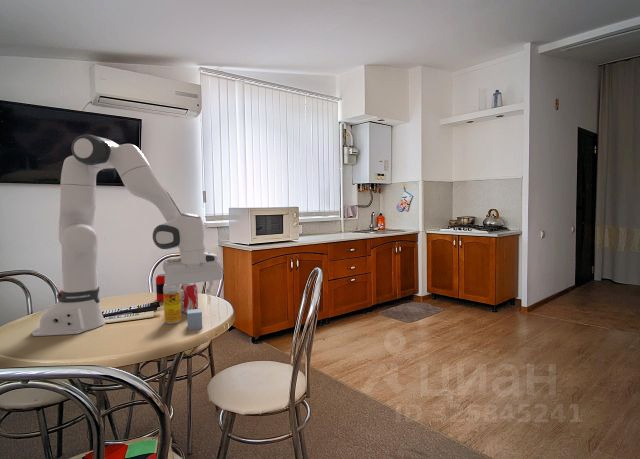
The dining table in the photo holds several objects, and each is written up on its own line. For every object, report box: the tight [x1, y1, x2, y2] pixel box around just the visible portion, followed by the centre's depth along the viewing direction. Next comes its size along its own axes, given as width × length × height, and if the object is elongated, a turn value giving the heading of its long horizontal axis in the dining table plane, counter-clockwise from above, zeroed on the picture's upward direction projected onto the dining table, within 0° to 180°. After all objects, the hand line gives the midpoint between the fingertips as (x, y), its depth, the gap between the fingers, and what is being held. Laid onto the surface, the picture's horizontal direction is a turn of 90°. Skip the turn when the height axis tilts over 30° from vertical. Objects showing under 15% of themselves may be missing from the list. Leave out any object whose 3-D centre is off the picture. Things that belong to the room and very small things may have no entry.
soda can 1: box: [155, 273, 165, 303], centre depth 179 cm, size 8×8×12 cm
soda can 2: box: [180, 283, 199, 314], centre depth 159 cm, size 7×7×12 cm
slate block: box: [186, 308, 203, 331], centre depth 140 cm, size 5×5×6 cm
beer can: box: [163, 284, 182, 325], centre depth 146 cm, size 6×6×15 cm
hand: (195, 294), depth 140 cm, fingers open, 8 cm apart
